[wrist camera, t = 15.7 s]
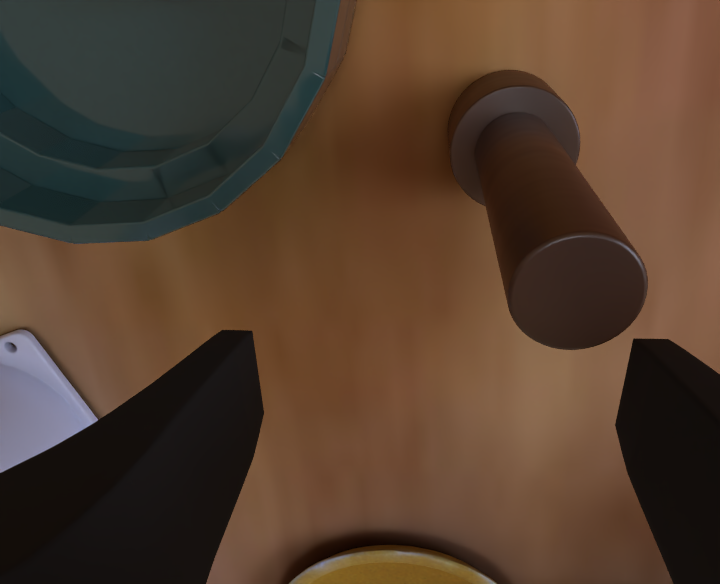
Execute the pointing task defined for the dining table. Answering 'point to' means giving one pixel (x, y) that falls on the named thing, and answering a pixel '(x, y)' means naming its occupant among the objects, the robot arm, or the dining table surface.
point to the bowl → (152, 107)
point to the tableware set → (391, 568)
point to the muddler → (544, 213)
